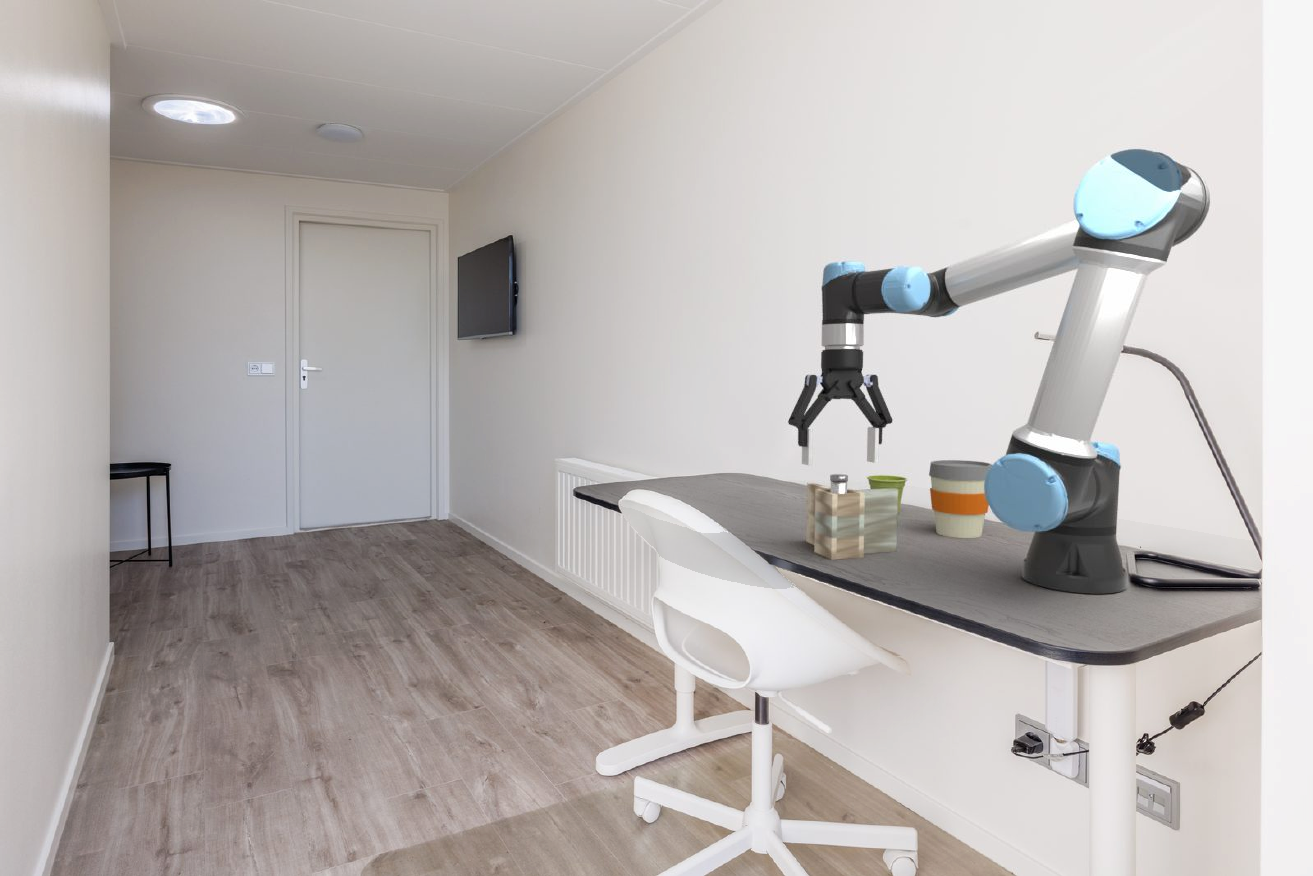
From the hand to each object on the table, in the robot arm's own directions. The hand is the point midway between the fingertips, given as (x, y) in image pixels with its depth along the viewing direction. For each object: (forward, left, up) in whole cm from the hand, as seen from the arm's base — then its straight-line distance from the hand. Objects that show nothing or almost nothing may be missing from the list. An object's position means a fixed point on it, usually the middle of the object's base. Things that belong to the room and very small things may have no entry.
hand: (840, 463), depth 146 cm
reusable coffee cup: (+10, -34, -17) cm, 39 cm away
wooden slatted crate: (+4, -4, -17) cm, 18 cm away
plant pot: (+36, -33, -17) cm, 52 cm away
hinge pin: (0, 0, -17) cm, 17 cm away
